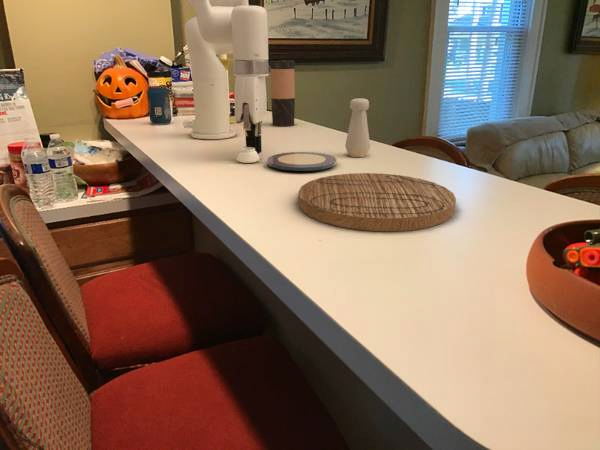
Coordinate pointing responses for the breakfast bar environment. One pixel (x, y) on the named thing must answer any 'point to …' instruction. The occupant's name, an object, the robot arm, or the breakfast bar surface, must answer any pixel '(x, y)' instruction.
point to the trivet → (376, 202)
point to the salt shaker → (358, 129)
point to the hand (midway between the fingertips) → (254, 152)
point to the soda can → (159, 105)
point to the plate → (301, 161)
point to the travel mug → (283, 92)
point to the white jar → (248, 155)
